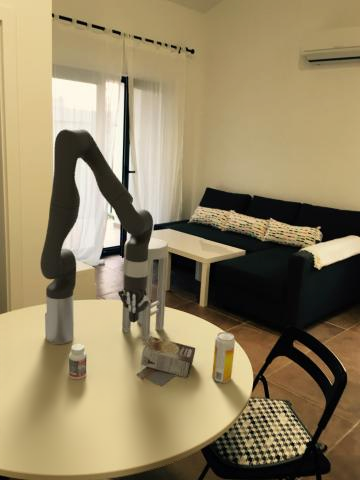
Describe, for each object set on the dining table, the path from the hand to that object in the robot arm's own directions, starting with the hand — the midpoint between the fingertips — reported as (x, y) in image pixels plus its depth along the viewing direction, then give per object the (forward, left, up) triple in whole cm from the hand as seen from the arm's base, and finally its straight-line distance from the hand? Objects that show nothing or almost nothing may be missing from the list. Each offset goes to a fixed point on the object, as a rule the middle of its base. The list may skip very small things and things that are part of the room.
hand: (133, 321), depth 148 cm
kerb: (+10, 0, -14) cm, 17 cm away
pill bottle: (-7, -18, -14) cm, 24 cm away
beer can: (+29, +10, -14) cm, 34 cm away
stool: (-11, +19, -14) cm, 26 cm away
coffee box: (+5, 0, -9) cm, 10 cm away
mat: (+12, 0, -14) cm, 19 cm away
